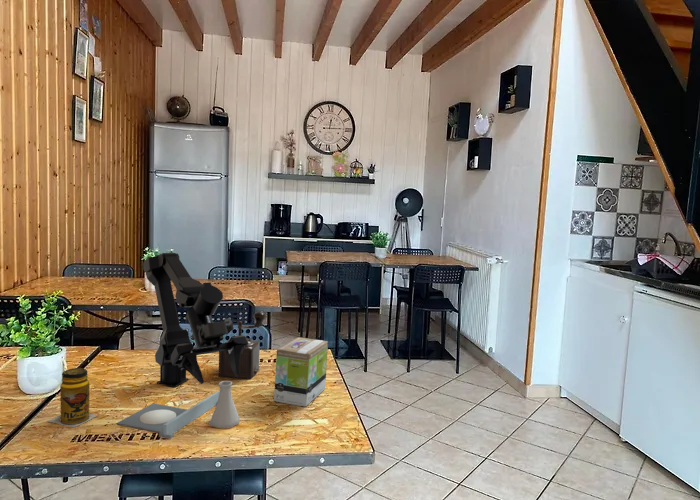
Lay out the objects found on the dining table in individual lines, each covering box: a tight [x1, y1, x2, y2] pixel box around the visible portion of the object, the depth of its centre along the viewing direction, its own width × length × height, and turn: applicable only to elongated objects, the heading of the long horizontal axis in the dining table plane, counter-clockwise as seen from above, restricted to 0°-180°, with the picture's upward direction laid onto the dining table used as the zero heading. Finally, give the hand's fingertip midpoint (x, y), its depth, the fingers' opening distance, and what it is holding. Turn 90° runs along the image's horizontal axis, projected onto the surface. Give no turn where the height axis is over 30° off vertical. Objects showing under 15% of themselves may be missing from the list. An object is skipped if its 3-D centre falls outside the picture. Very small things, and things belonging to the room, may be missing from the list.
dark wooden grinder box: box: [218, 311, 266, 380], centre depth 161 cm, size 16×11×18 cm
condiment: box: [46, 367, 99, 428], centre depth 121 cm, size 7×8×12 cm
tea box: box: [273, 336, 329, 407], centre depth 143 cm, size 15×10×15 cm, turn 163°
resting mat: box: [116, 403, 188, 434], centre depth 124 cm, size 13×13×1 cm
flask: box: [208, 380, 240, 429], centre depth 123 cm, size 7×7×10 cm
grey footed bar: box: [158, 391, 220, 440], centre depth 125 cm, size 3×22×3 cm, turn 163°
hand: (220, 379), depth 125 cm, fingers open, 9 cm apart
